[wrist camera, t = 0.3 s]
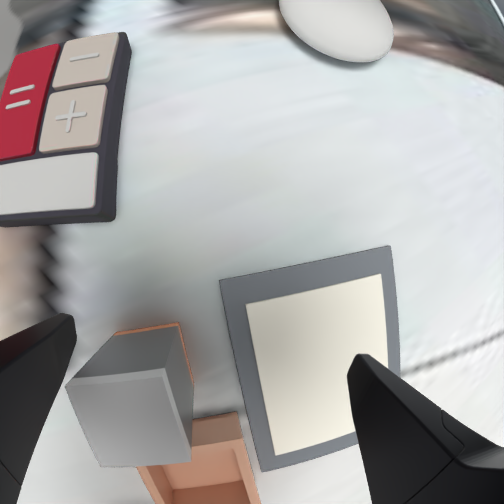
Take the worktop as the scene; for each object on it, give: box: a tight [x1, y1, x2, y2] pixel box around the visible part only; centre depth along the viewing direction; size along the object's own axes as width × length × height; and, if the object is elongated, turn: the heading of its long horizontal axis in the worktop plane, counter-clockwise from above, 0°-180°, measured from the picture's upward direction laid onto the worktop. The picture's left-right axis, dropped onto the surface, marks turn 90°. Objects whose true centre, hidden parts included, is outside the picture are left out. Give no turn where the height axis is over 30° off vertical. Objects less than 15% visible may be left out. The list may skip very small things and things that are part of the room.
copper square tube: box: [136, 412, 261, 504], centre depth 21 cm, size 8×8×4 cm
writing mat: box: [219, 246, 400, 472], centre depth 24 cm, size 18×14×1 cm
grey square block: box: [65, 322, 194, 467], centre depth 17 cm, size 5×5×10 cm
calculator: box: [0, 32, 132, 227], centre depth 19 cm, size 11×4×15 cm
